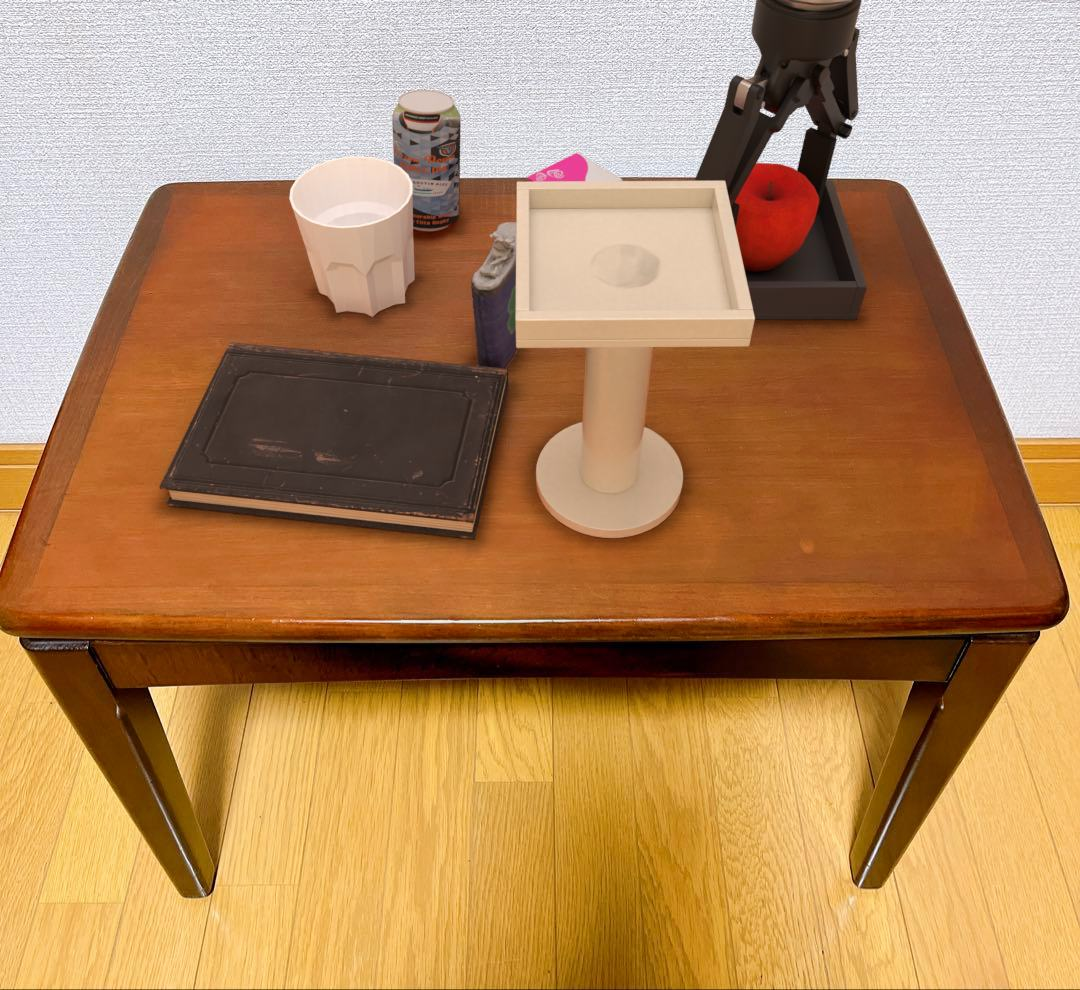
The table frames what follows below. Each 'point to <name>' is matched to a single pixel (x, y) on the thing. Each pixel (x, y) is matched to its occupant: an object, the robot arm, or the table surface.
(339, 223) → the cup
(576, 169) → the supplement box
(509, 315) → the flask
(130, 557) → the table surface
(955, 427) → the table surface
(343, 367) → the hardcover book
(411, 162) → the beverage can
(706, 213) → the pedestal tray stand
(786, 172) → the apple
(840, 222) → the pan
